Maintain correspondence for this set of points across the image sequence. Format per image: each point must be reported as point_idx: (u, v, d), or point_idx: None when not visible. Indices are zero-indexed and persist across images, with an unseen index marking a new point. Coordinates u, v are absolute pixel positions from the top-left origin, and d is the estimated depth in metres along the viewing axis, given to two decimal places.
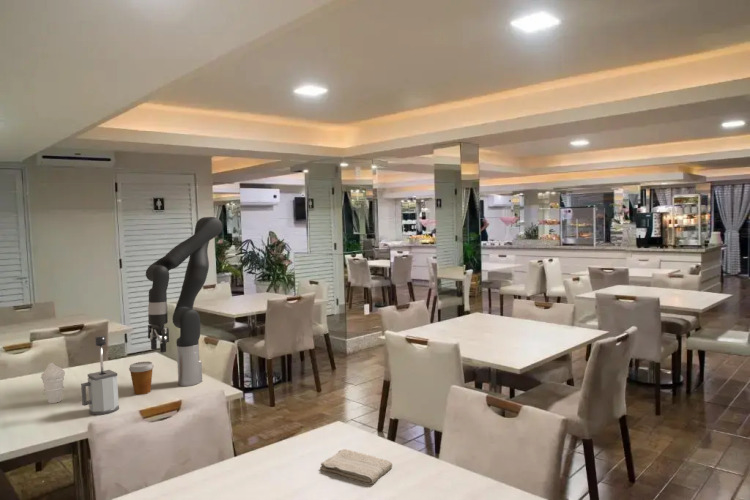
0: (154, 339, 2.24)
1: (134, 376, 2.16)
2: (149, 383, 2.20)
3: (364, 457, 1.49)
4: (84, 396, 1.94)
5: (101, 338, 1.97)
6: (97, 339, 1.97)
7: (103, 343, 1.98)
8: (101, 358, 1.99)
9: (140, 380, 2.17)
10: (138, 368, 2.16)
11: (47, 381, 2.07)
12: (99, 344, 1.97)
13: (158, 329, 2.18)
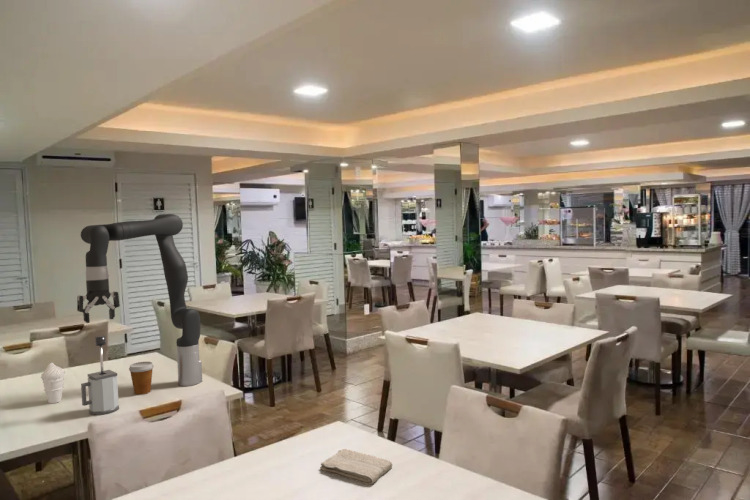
0: None
1: (134, 376, 2.16)
2: (149, 383, 2.20)
3: (364, 457, 1.49)
4: (84, 396, 1.94)
5: (101, 338, 1.97)
6: (97, 339, 1.97)
7: (103, 343, 1.98)
8: (101, 358, 1.99)
9: (140, 380, 2.17)
10: (138, 368, 2.16)
11: (47, 381, 2.07)
12: (99, 344, 1.97)
13: (106, 295, 1.99)
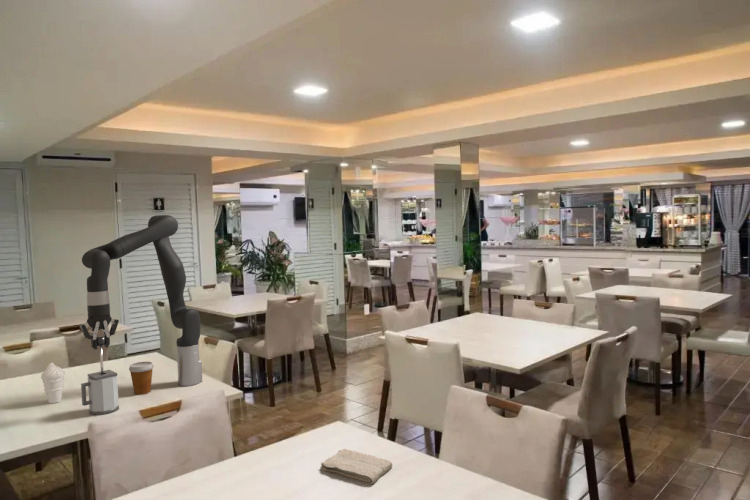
0: None
1: (134, 376, 2.16)
2: (149, 383, 2.20)
3: (364, 457, 1.49)
4: (84, 396, 1.94)
5: (101, 338, 1.97)
6: (97, 339, 1.97)
7: (103, 343, 1.98)
8: (101, 358, 1.99)
9: (140, 380, 2.17)
10: (138, 368, 2.16)
11: (47, 381, 2.07)
12: (99, 344, 1.97)
13: (108, 321, 1.99)
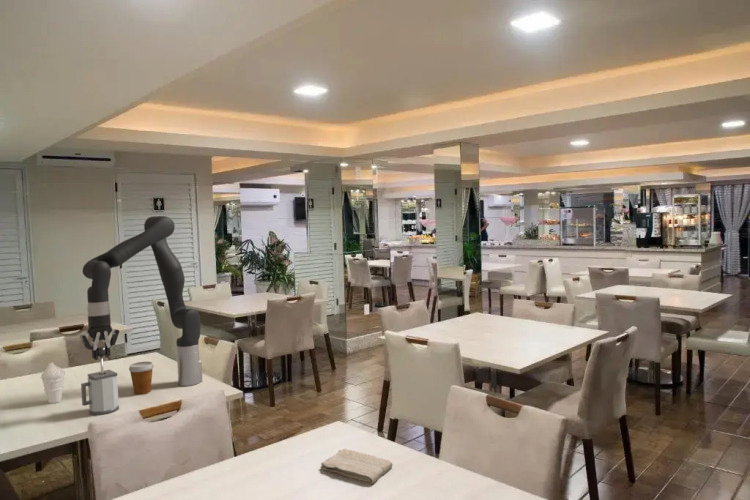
0: None
1: (134, 376, 2.16)
2: (149, 383, 2.20)
3: (364, 457, 1.49)
4: (84, 396, 1.94)
5: (102, 349, 1.97)
6: (98, 350, 1.97)
7: (104, 354, 1.98)
8: (102, 368, 1.99)
9: (140, 380, 2.17)
10: (138, 368, 2.16)
11: (47, 381, 2.07)
12: (100, 355, 1.97)
13: (108, 331, 2.00)
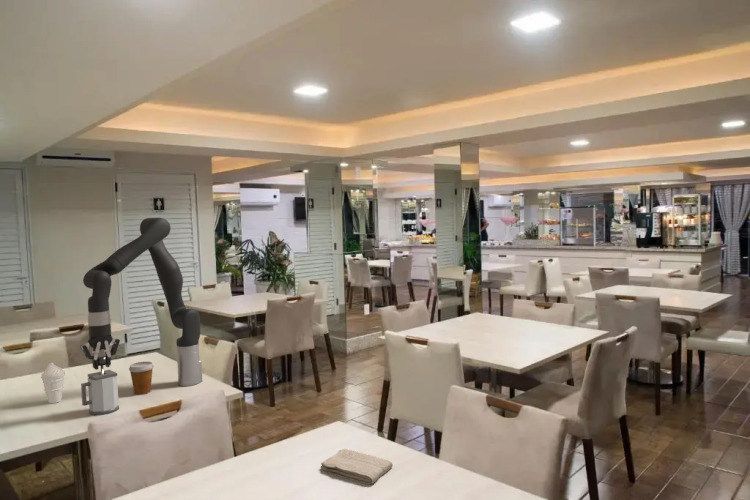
0: None
1: (134, 376, 2.16)
2: (149, 383, 2.20)
3: (364, 457, 1.49)
4: (84, 396, 1.94)
5: (102, 358, 1.98)
6: (98, 359, 1.97)
7: (104, 363, 1.98)
8: None
9: (140, 380, 2.17)
10: (138, 368, 2.16)
11: (47, 381, 2.07)
12: (100, 364, 1.97)
13: (109, 341, 2.00)
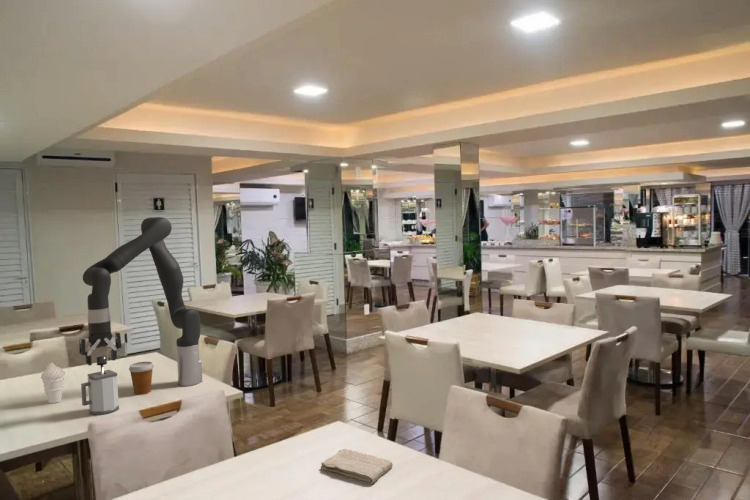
0: None
1: (134, 376, 2.16)
2: (149, 383, 2.20)
3: (364, 457, 1.49)
4: (84, 396, 1.94)
5: (102, 358, 1.98)
6: (98, 359, 1.97)
7: (104, 363, 1.98)
8: None
9: (140, 380, 2.17)
10: (138, 368, 2.16)
11: (47, 381, 2.07)
12: (100, 364, 1.97)
13: (108, 336, 2.00)
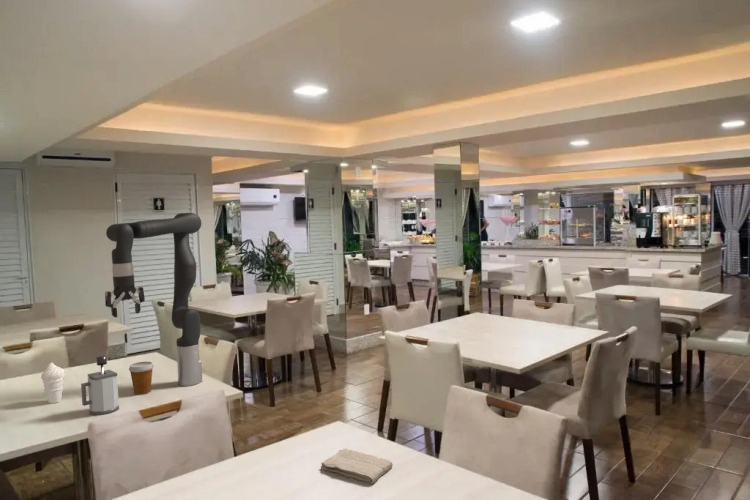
0: None
1: (134, 376, 2.16)
2: (149, 383, 2.20)
3: (364, 457, 1.49)
4: (84, 396, 1.94)
5: (102, 358, 1.98)
6: (98, 359, 1.97)
7: (104, 363, 1.98)
8: None
9: (140, 380, 2.17)
10: (138, 368, 2.16)
11: (47, 381, 2.07)
12: (100, 364, 1.97)
13: (132, 290, 2.08)
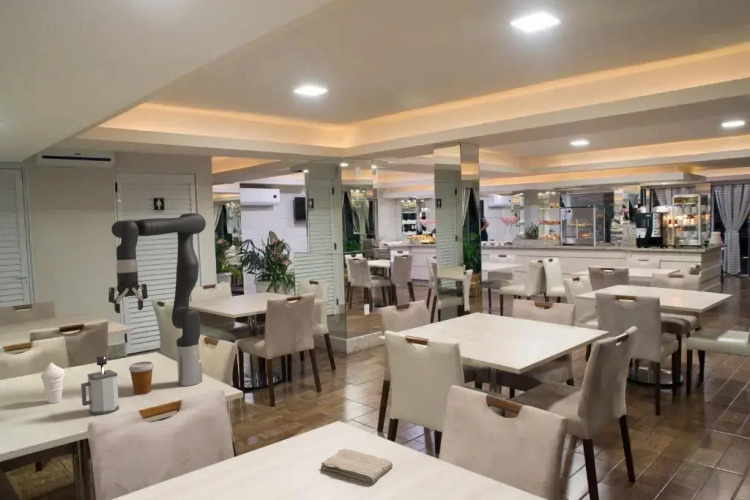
0: None
1: (134, 376, 2.16)
2: (149, 383, 2.20)
3: (365, 457, 1.49)
4: (84, 396, 1.94)
5: (102, 358, 1.98)
6: (98, 359, 1.97)
7: (104, 363, 1.98)
8: None
9: (140, 380, 2.17)
10: (138, 368, 2.16)
11: (47, 381, 2.07)
12: (100, 364, 1.97)
13: (136, 287, 2.09)
